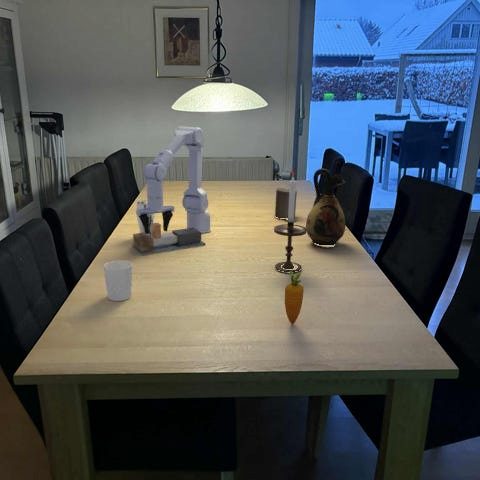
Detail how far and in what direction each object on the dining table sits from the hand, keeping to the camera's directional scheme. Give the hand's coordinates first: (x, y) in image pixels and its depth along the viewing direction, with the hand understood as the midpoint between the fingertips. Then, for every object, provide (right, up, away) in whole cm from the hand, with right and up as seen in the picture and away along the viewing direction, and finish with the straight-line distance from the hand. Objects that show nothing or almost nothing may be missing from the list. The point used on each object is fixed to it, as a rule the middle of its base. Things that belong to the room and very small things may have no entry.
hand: (156, 231), depth 190 cm
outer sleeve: (+4, -5, +4) cm, 8 cm away
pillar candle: (+53, +7, +49) cm, 73 cm away
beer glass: (-6, -3, +13) cm, 15 cm away
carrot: (+46, -26, -56) cm, 77 cm away
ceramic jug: (+64, -5, +11) cm, 66 cm away
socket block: (-5, -7, -1) cm, 8 cm away
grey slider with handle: (+2, -4, +3) cm, 5 cm away
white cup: (-4, -20, -42) cm, 46 cm away
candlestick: (+48, -13, -16) cm, 53 cm away
